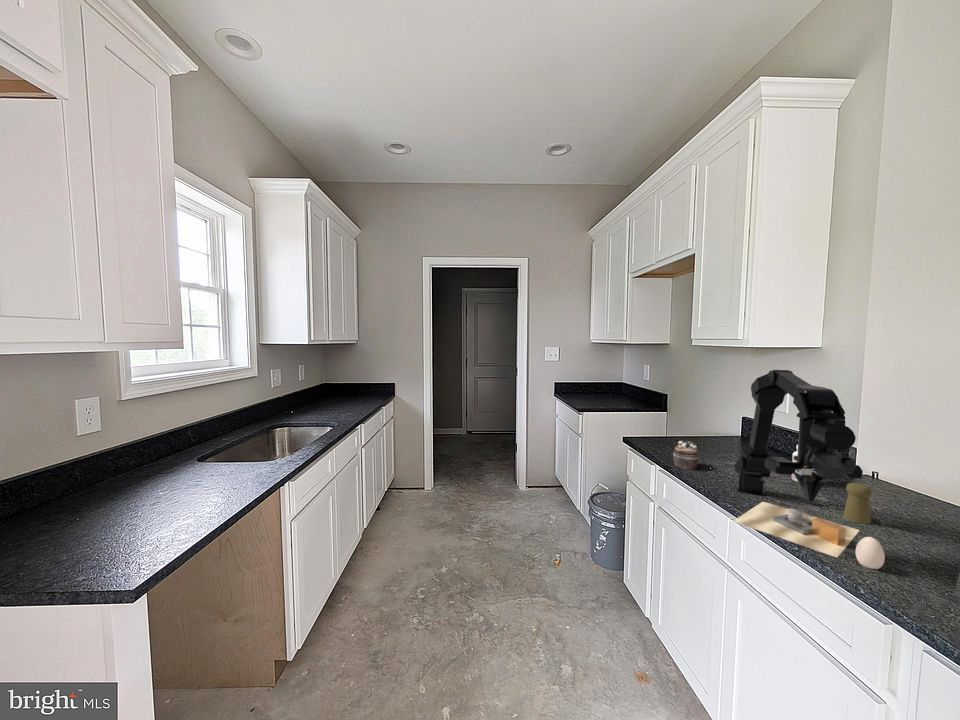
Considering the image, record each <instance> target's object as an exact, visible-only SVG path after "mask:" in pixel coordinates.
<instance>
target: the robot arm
mask: <svg viewBox="0 0 960 720" xmlns="http://www.w3.org/2000/svg"><path fill="white" fill-rule="evenodd" d="M750 391H751V397H752V399H753V401H754V402H755V410H754V416H753V422H752V427H751V433H750V439H749V442H748V443H749V444H748V445H746V447H744V448H743V449H742V450H741V454H740V456H739V458H738V459H737V460H736V462H735V463H734V470H735V472H736V473H737V474H738V477H739V478H738V481H739V482H738V488H737V489H736V492H739V493H744V494H748V495H753V496H760V497H761V496H763V495H765V494H766V487H767V481H766V480H765V478H770V476H771V472H773V473H775V474H779V475H790V476H792V474H794V475H795V477H796V478H797V480H798V482H797V483H798V484H799V486H800V489H801V490H802V492H803V495H804V497H805V499H806V501H808V502H814V500H815V499H816V497H817V495H818V494H819V492H820V491H821V489H822V487H823V486H824V485H825V484H826V483H827V482H830V481H835V480H836V479H838V480H844V478H845V476H846V477H847V478H849V479H863V478H864V477H863V475H864V470H863V469H862V467H861V466H860V465H858V464H856V460H855V459H853V457H851V456H842V457H841V456H835V455H834V450H836V451H846V450H848V449H850V448H852V447H853V446H854V444H855V443H856V440H857V439H856V435H855V433H854V431H853V430H852V429H851V428H850V427H849V426H846V416H845V414H846V411H845V409H844V408H843V406H842V403H840V400H839V397H838V395H837V394H836V392H835V391H834V390H832V389H831V388H827V387H823V386H817V385H812V384H811V383H808V382H807V381H805V380H804V379H802V378H801V377H800V376H797V375H796V374H794V372H793V371H792V370H789V369H773V370H769V371H768V372H767V373H766V374H764V375H761V376H759V377H757V378H755V380H754V381H753V382H752V383H751V386H750ZM786 395H790V396H791V397H792V398H793V401H792V404H794V406H795V407H796V408H797V410H798V413H797V414H796V417H797V418H799V423H798V425H799V426H798V439H794V444H795V445H796V446H797V445H798V455H797V456H794V460H796V461H797V462H792V461H791V460H788V459H787V458H785V457H782V456H771V455H770V454H769V452H768V446H769V441H770V437H771V430H772V427H773V426H772V425H773V421H774V420H773V419H774V417H775V416H774V415H775V411H776V409H778V408H779V406H780V405H782V404H783V403H784V400H785V397H786ZM804 466H807V467H804Z"/></svg>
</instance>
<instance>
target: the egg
mask: <svg viewBox="0 0 960 720" xmlns="http://www.w3.org/2000/svg"><path fill="white" fill-rule="evenodd" d="M855 546H856V547H855V557H856V559H857V561H858V563H859V564H860V565H861V566H863V567H865V568H868V569H872V570H879V569H881V568H882V567H883V566H884V564H885V559H886V558H885V557H886V555H885V551H884V549H883V546H882V544H881V543H880V542H879V541H878V540H877V539H876V538H874V537H872V536H865V537H863V538H861V539H859V540H858V543H857V544H856V545H855Z"/></svg>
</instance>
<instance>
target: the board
mask: <svg viewBox="0 0 960 720" xmlns="http://www.w3.org/2000/svg"><path fill="white" fill-rule="evenodd" d="M787 514H788V521H790V522H792V523H794V524H797V525H799V526H801V527H805V526H808V525H806V524H803V523H802V517H805V518H807V519H810V520H812V519H814V518H818V517H816V516H813V515H810V514H807V513H805V512H804V513H803V511H801V510H799V509H796V508H786V507H782V506H779V505H776V504H772V503H769V502H766V501H761V502H760V503H758V504H756V505H754V507H752V508H751V509H749V510H748V511H746V512H744V513H743V514H741V515H740V516H738V517H737V518H736V519H733V520H732V522H734V523H736V524H740V525H742V526H745V527H748V528H751V529H754V530H756V531H760V532H763V533H764V534H768V535H771V536H774V537H777V538H779V539H783V540H786V541H788V542H790V543H794V544H797V545H799V546H803V547H804V548H805V547H806V548H808V549H811V550H813V551H817V552H820V553H822V554H826V555H827V556H832V557H834V558H839V557H840V555H841V554H842V553H843V552H844V550H845V549H846V548H847V546H849V544H850V543H851V542H852V541H853V539H854V538H855V537H856V535H858V533H859V532H860V529H857V528H854V527H851V526H847V525H843V524H840V523H837V522H834V521H830V520H826V519H825V520H826V521H829V522H831V523H834V524H838V525H839V526H841V527H843V528H846V533H845V544H843V545H835V544H833V543H831V542H829V541H827V540H824V539H822V538H820V537H818V536H816V535H814V534H806V535H803V534H800V533H798V532H796V531H794V530H792V529H790V528H788V527H786V526H783V525H781V524H779V523H777V522H775V521H773V517H774V516H781V515H787Z"/></svg>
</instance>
